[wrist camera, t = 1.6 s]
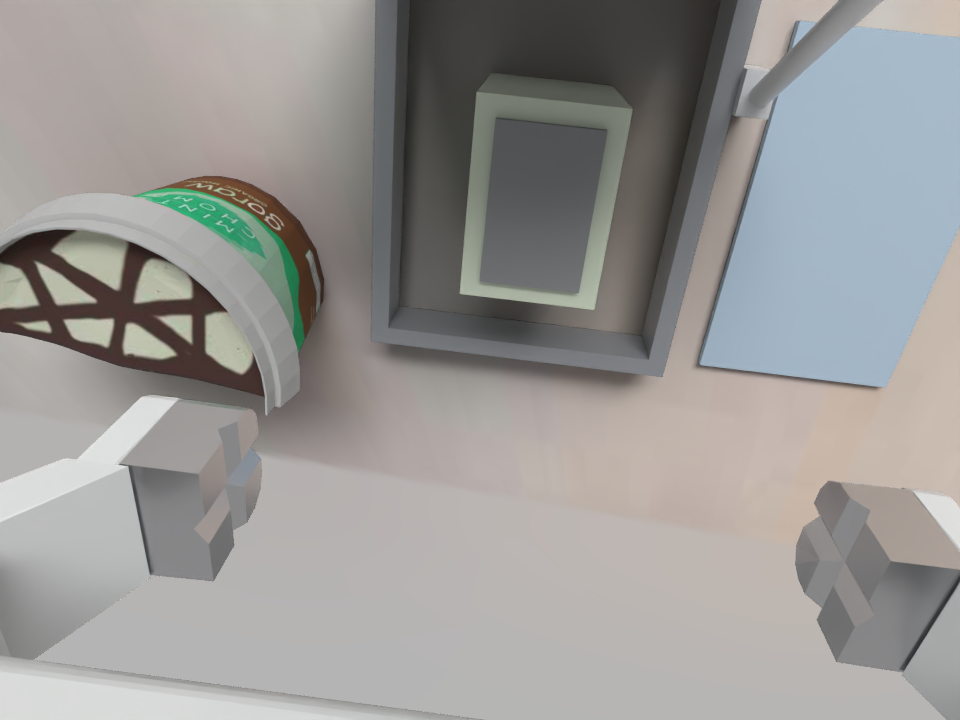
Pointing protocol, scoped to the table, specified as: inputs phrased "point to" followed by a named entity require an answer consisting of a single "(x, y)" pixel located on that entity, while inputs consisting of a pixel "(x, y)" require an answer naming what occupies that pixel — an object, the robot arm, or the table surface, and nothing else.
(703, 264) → the table surface
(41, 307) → the food container
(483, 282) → the module
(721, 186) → the table surface
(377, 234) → the case
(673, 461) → the table surface
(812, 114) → the mat
